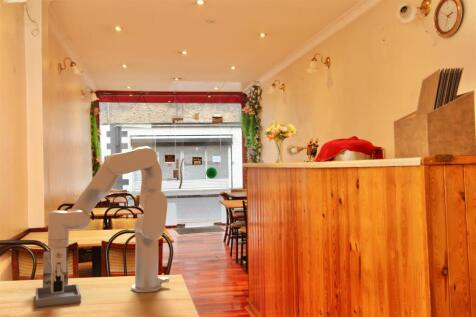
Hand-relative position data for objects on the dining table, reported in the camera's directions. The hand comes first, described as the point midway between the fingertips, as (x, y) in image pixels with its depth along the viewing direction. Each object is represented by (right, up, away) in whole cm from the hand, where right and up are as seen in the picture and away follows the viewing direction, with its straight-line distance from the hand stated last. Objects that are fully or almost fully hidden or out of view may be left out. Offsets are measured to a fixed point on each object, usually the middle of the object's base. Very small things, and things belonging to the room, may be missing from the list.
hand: (57, 289), depth 173 cm
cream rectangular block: (0, -1, 0) cm, 1 cm away
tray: (0, -4, 0) cm, 4 cm away
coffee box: (-7, -4, +15) cm, 17 cm away
